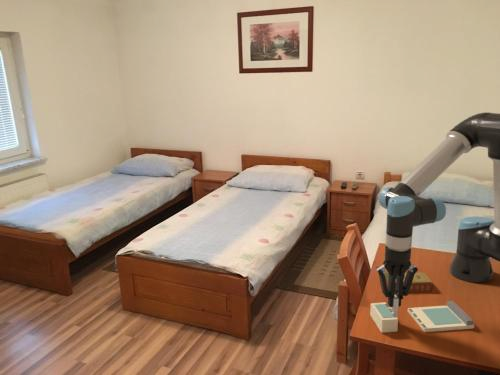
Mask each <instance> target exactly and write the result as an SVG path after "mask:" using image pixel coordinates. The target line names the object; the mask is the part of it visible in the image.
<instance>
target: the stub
mask: <svg viewBox="0 0 500 375" xmlns="http://www.w3.org/2000/svg"><path fill="white" fill-rule="evenodd" d="M369 314H370V317H371V319H372V320H373V321H374V323H375V325H376V326H377V328H378V330H379V331H380V332H381V334H384V333H385V334H386V333H396V332H398V325H399V323H398V322H399V319H398V317H396V316H395V314H394V313H393V312H392V310H391V309H390V307H389V305H388V303H387V302H374V303H373V302H372V303H370V312H369Z"/></svg>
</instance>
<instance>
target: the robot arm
mask: <svg viewBox="0 0 500 375" xmlns="http://www.w3.org/2000/svg"><path fill="white" fill-rule="evenodd" d="M478 147H482V148H486V149H487V157H488V159H490V160H492V166H493V168H492V169H493V170H492V171H493V217H494V218H491V217H487V216H466V217H463V218H461V219H460V221H459V224H458V225H459V226H458V228H457V239H456V240H457V242H456V253H455V255H454V257H453V259H452V261H451V262H450V265H449V273H450V274H451V276H453V277H455V278H457V279H459V280H461V281H466V282H470V283H486V282H490V281H491V280H492V279H493V277H494V276H493V275H494V270H493V266H492V262H491V259H493V260H495V261H497V262H500V113H498V112H497V113H494V112H481V113H480V112H479V113H476V114H474V115H471V116H469V117H467V118H466V119H464V120H462V121H461V122H459V123H458V124H456V125H455V126H454V127H453V128H451V129H450V130H449V131H448V132H447V133H446V135H445V139H444V140H443V141H442V142H440V143H439V145H437V147H436V148H434V150H432V151H431V152H430V153H429V154H428V155H427V156H426V157H425V158H424V159H423V160H422V161H421V162H420V163H419V164H418V165H416V166H415V168H414V169H412V170H411V171H410V172H409V173H408V174H407V175H406V176H404V178H403V179H402V180H401V181H400V182H399V183H397V185H395V186H394V187H384V188H383V189H382V190H381V191H380V192H379V195H378V203H379V206H381V207H382V208H384V209H385V210H386V233H385V247H384V260H383V262H382V265H381V266H380V267H379V266H376V267H375V271H376V272H377V274H378V278H379V282H380V287H381V293H382V294H383V296H384V297H385V298H387V305H388V306H389V308H390V309H391V310H392V312H393V313H394V314H395V316H396V317H397V318H398V317H399V315H398V314H399V308H400V307H401V306H402V300H404V297H407V296H408V295H409V292H410V291H409V290H410V287H411V284H412V281H413V278H414V275H415V273H416V272H419V268H418V267H417V266H416V265H415V264H412V261H411V257H412V256H411V255H412V244H413V241H412V240H413V231H414V230H413V229H414V227H418V226H425V225H429V224H434V223H437V222H440V221H442V220H443V219H444V218H446V214H447V207H446V205H445V202H444V201H442V199H440V198H438V197H428V198H424V197H421V196H420V195H422V193H424V191H425V190H427V188H428V187H429V186H431V185H432V184H433V183H434V182H435V181H436V180H437V179H438V178H439V177H440V176H441V175H443V174H444V173H445V171H446V170H448V168H450V166H452V165H453V164H454V163H455V162H456V161H457V160H458V159H459V158H460V157H461V156H462V155H463V154H468V153H469V152H471V151H472V149H474V148H478ZM386 271H387V273H388V275H389V281H388V288H387V283H386V278H385V275H384V274H385V273H386ZM405 272H407V274H406V277H405ZM396 277H397V278H396ZM404 277H405V280H404ZM403 280H404V283H403ZM395 281H396V292H395Z"/></svg>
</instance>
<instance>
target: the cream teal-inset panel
mask: <svg viewBox="0 0 500 375" xmlns="http://www.w3.org/2000/svg"><path fill="white" fill-rule="evenodd" d="M407 313H408V314H409V315H410V317H412V319H413V320H414V321H415V322H416V323H417V325H418V326H419V327H420V329H421V330H422V331H423V332H424V333H431V332H444V331H456V330H457V331H458V330H468V329H469V330H470V329H472V330H473V329H474V328H475V324H474V319H472V318H471V317H470V316H469V315H468V314H467V313H466V312H465V311H464V310H463V309H462V308H461V307H460V306H459V305H458V304H457V303H456V302H455V301H453V300H448V301H446V305H437V306H436V305H434V306H433V305H432V306H423V307H422V306H419V307H408V308H407Z"/></svg>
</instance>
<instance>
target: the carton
mask: <svg viewBox="0 0 500 375" xmlns="http://www.w3.org/2000/svg"><path fill="white" fill-rule="evenodd" d="M406 274H407V271H406V272H405V277H406ZM384 275H385V278H386V283H387V288H388V281H389V275H388V272H385V274H384ZM405 277H404V280H405ZM396 278H397V277H396ZM404 280H403V283H404ZM432 282H433V281H432V280H431V279H430V277H429V276H428V275H427V274H426V273H425V271H417V272H416V273H415V275H414V278H413V281H412V284H411V287H410V290H409V292H432V285H433V283H432ZM395 293H396V281H395Z"/></svg>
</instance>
